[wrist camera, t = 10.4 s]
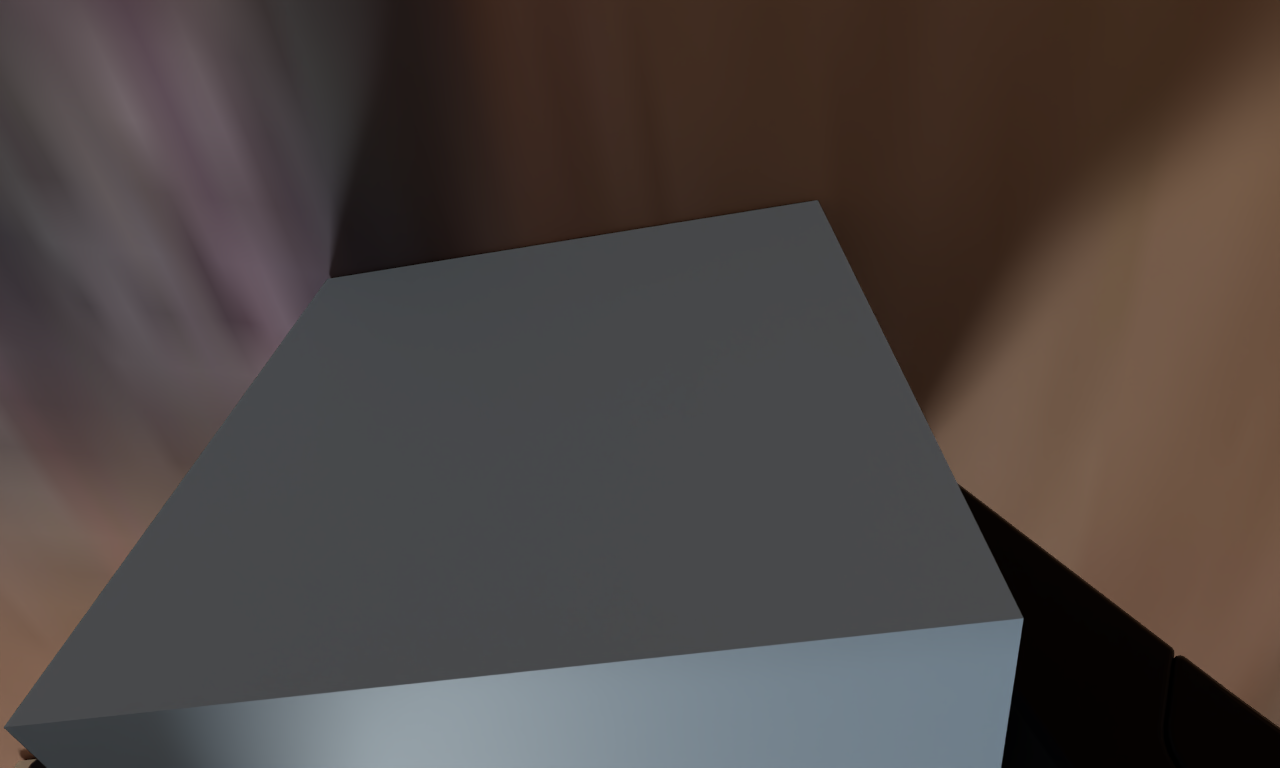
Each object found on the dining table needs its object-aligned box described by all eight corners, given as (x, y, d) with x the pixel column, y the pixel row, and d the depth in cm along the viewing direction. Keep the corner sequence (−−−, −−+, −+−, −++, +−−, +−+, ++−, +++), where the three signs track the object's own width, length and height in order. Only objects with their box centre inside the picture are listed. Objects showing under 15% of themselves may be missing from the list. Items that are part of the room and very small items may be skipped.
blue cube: (818, 199, 8) (1022, 617, 4) (835, 558, 10) (962, 1027, 6) (327, 278, 8) (2, 728, 4) (468, 601, 11) (363, 1061, 7)
